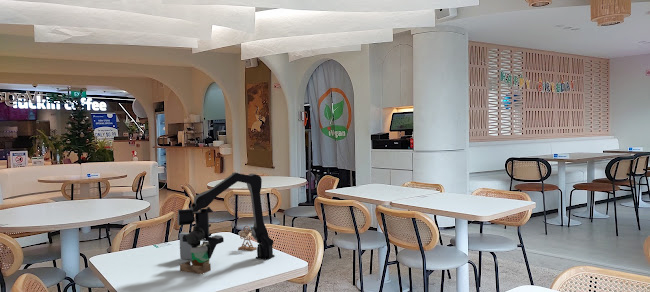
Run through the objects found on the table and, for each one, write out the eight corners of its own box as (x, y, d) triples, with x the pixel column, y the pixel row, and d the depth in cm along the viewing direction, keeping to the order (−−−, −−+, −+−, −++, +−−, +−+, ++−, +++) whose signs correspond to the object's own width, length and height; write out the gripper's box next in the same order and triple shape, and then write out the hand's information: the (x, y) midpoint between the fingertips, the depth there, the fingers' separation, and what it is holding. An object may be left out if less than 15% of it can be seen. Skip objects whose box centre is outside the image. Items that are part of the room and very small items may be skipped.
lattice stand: (238, 249, 232) (237, 226, 232) (242, 247, 236) (241, 224, 236) (252, 251, 229) (251, 227, 228) (257, 249, 232) (256, 225, 232)
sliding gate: (200, 259, 216) (199, 233, 216) (196, 260, 214) (195, 234, 214) (183, 257, 220) (182, 232, 220) (180, 258, 218) (179, 233, 218)
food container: (204, 271, 197) (203, 248, 197) (191, 271, 198) (190, 248, 198) (216, 263, 209) (215, 241, 209) (204, 262, 210) (203, 241, 210)
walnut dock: (210, 270, 198) (210, 263, 198) (202, 274, 193) (201, 267, 193) (188, 267, 203) (188, 261, 203) (180, 271, 198) (179, 264, 198)
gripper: (172, 225, 200) (174, 260, 200) (207, 228, 192) (208, 265, 192) (190, 220, 210) (191, 254, 210) (223, 222, 202) (224, 258, 202)
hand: (203, 257), depth 204 cm, fingers closed on food container, 6 cm apart
